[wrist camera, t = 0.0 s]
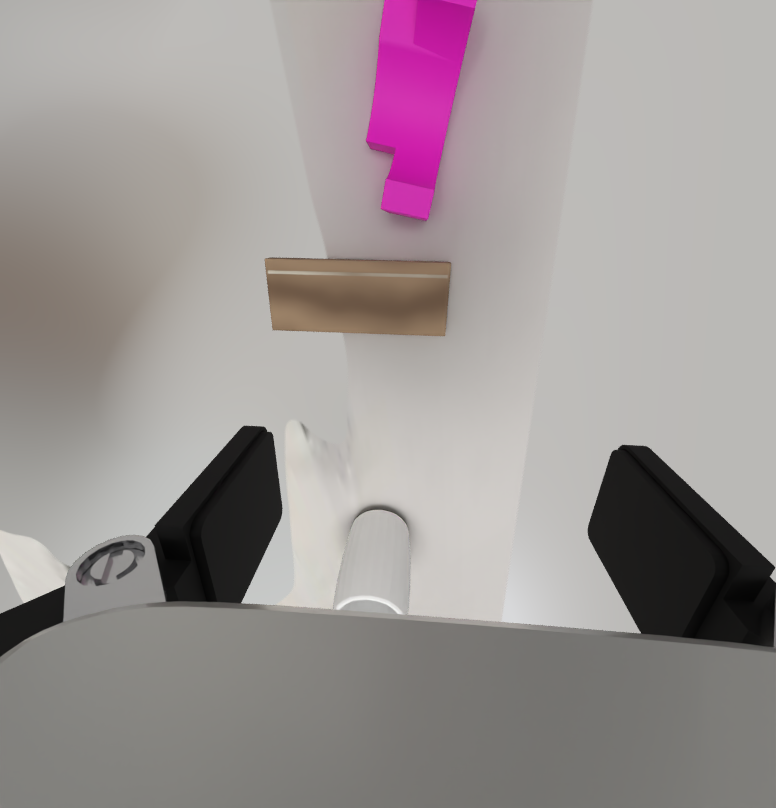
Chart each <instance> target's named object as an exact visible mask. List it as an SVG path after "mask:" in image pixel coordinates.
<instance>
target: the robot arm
mask: <svg viewBox="0 0 776 808" xmlns="http://www.w3.org/2000/svg"><path fill="white" fill-rule="evenodd" d="M281 516H282V501H281V493H280V486H279V478H278V470H277V462H276V455H275V447H274V439H273V434H272V433H271V432H267V430H266V428H265V427H260V426H243V427H242V428H241V429H240V430H239V431H238V432H237V434H236V435H235V436H234V437H233V438H232V439H231V440H230V441H229V442H228V444H227V445H226V446H225V447H224V448H223V449H222V450H221V451H220V453H219V454H218V455H217V456H216V457H215V458H214V459H213V460H212V462H211V463H210V464H209V465H208V466H207V467H206V468H205V469H204V471H203V472H202V473H201V474H200V475H199V476H198V477H197V478H196V480H195V481H194V482H193V483H192V484H191V485H190V486H189V488H188V489H187V490H186V491H185V492H184V493H183V494H182V495H181V497H180V498H179V499H178V500H177V501H176V502H175V503H174V504H173V506H172V507H171V508H170V509H169V510H168V511H167V512H166V514H165V515H164V516H163V517H162V518H161V519H160V520H159V521H158V522H157V524H156V525H155V527H154V529H153V530H152V531H151V532H150V533H149V534H148V535H147V537H144V536H139V535H126V536H120V537H117V538H113V539H110V540H107V541H105V542H103V543H101V544H98V545H96V546H95V547H93V548H92V549H90V550H88V551H87V552H85V553H84V554H83V555H82V556H81V557H79V559H77V560H76V561H75V562H74V564H73V565H72V566H71V568H70V569H69V570H68V573H67V576H66V580H65V586H63V587H61V588H58V589H56V590H54V591H51V592H49V593H47V594H45V595H42V596H40V597H38V598H35V599H33V600H31V601H28V602H26V603H24V604H22V605H19V606H17V607H15V608H13V609H10V610H8V611H6V612H3V613H1V614H0V808H776V583H775V582H774V581H773V580H772V579H771V578H770V575H771V574H772V572H773V570H774V569H775V567H774V565H772V564H771V563H770V562H769V561H768V560H767V559H766V558H765V557H764V556H763V555H762V554H761V553H760V552H758V550H757V549H756V548H755V547H753V546H752V545H751V544H750V543H749V542H748V541H747V540H746V539H745V538H744V537H743V536H742V535H741V534H740V533H738V531H737V530H735V529H734V528H733V527H732V526H731V525H730V524H729V523H728V522H727V521H726V520H725V519H724V518H723V517H722V516H721V515H720V514H719V513H717V512H716V511H715V510H714V509H713V508H712V507H711V506H710V505H709V504H708V503H707V502H706V501H705V500H704V499H703V498H702V497H701V496H700V495H699V494H697V493H696V492H695V491H694V490H693V489H692V488H691V487H690V486H689V485H688V484H687V483H686V482H685V481H684V480H683V479H682V478H681V477H679V476H678V475H677V474H676V473H675V472H674V471H673V470H672V469H671V468H670V467H669V466H668V465H667V464H666V463H665V462H664V461H662V459H660V458H659V457H658V456H657V455H656V454H655V453H654V452H653V451H652V450H651V449H650V448H648V447H646V446H633V445H622V446H620V447H619V448H618V450H614V451H613V452H612V453H611V456H610V459H609V462H608V465H607V468H606V472H605V475H604V478H603V481H602V484H601V487H600V490H599V494H598V497H597V500H596V503H595V506H594V509H593V513H592V516H591V519H590V522H589V525H588V536H589V539H590V542H591V543H592V545H593V547H594V549H595V551H596V552H597V554H598V556H599V558H600V560H601V562H602V563H603V565H604V567H605V569H606V571H607V572H608V574H609V576H610V577H611V580H612V581H613V583H614V585H615V587H616V589H617V590H618V592H619V594H620V596H621V598H622V599H623V601H624V603H625V605H626V606H627V609H628V610H629V612H630V614H631V616H632V618H633V620H634V621H635V623H636V625H637V627H638V629H639V630H640V632H641V634H637V633H625V632H614V631H603V630H591V629H578V628H566V627H555V626H543V625H531V624H518V623H505V622H493V621H480V620H468V619H455V618H442V617H429V616H416V615H403V614H390V613H376V612H362V611H348V610H335V609H321V608H307V607H293V606H278V605H260V604H242V603H241V602H242V600H243V598H244V596H245V593H246V591H247V589H248V587H249V585H250V583H251V581H252V579H253V577H254V574H255V572H256V570H257V568H258V566H259V564H260V562H261V560H262V557H263V555H264V553H265V551H266V549H267V547H268V545H269V543H270V541H271V539H272V536H273V534H274V532H275V530H276V528H277V526H278V523H279V522H280V519H281Z"/></svg>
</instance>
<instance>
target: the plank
mask: <svg viewBox="0 0 776 808" xmlns="http://www.w3.org/2000/svg"><path fill="white" fill-rule="evenodd" d="M265 267H266V275H267V284H268V293H269V301H270V311H271V319H272V328H273V330H286V331H313V332H314V331H316V332H341V333H369V334H397V335H425V336H445V330H446V318H447V306H448V294H449V282H450V270H451V263H450V262H433V261H392V260H350V259H309V258H307V259H306V258H266V259H265Z"/></svg>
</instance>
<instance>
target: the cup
mask: <svg viewBox="0 0 776 808" xmlns="http://www.w3.org/2000/svg"><path fill="white" fill-rule="evenodd" d="M409 596H410V541H409V531H408V527H407V525H406V523H405V522H404V521H403V520H402V518H400V517H399V516H398V515H396V514H394V513H392V512H389V511H384V510H371V511H366V512H364V513H363V514H361V515H359V516H358V517H357V518H356V519H355V521H354V522H353V524H352V527H351V530H350V533H349V537H348V540H347V543H346V547H345V550H344V554H343V558H342V562H341V566H340V571H339V575H338V579H337V585H336V590H335V596H334V603H333V609H335V610H348V611H362V612H376V613H390V614H403V615H408V608H409Z"/></svg>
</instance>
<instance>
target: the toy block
mask: <svg viewBox="0 0 776 808" xmlns="http://www.w3.org/2000/svg"><path fill="white" fill-rule="evenodd" d="M476 2H477V0H385V1H384V8H383V15H382V22H381V29H380V36H379V51H378V63H377V74H376V83H375V91H374V99H373V106H372V112H371V118H370V124H369V129H368V134H367V139H366V142H367V144H368V145H369V147H370V149H373V150H378V151H382V152H386V153H391V154H394V158H393V162H392V166H391V169H390V172H389V175H388V177H387V179H386V181H385V187H384V193H383V199H382V204H381V209H382V210H384V211H386V212H389V213H393V214H397V215H402V216H406V217H411V218H415V219H420V220H424V221H427V220H428V217H429V212H430V208H431V203H432V199H433V194H434V189H435V183H436V178H437V173H438V168H439V164H440V159H441V154H442V150H443V145H444V140H445V136H446V131H447V127H448V122H449V118H450V113H451V109H452V104H453V100H454V96H455V91H456V87H457V82H458V78H459V74H460V69H461V65H462V61H463V57H464V52H465V48H466V44H467V40H468V35H469V31H470V27H471V23H472V19H473V15H474V11H475V6H476Z"/></svg>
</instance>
